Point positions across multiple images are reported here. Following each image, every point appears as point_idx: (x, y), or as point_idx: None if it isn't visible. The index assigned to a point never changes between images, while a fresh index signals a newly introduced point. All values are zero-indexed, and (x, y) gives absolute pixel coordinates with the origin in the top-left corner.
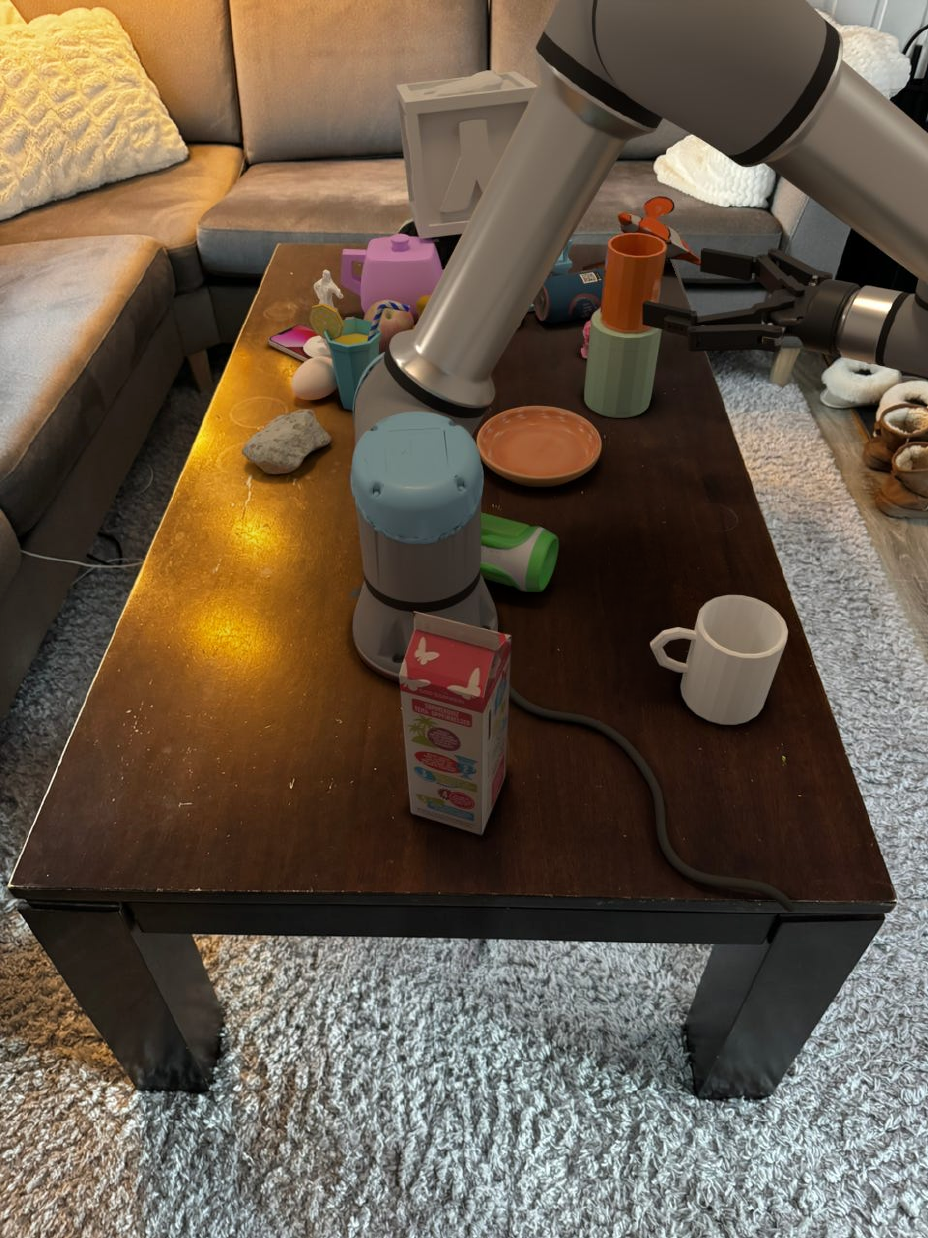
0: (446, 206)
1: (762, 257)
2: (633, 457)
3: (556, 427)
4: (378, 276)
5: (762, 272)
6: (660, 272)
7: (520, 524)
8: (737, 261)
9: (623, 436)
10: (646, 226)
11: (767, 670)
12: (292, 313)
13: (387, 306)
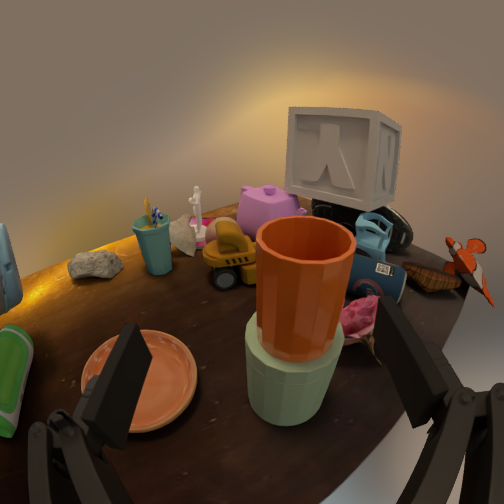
0: (304, 176)
1: (464, 405)
2: (194, 459)
3: (184, 377)
4: (242, 204)
5: (429, 449)
6: (315, 297)
7: None
8: (414, 373)
9: (226, 434)
10: (461, 254)
11: None
12: (229, 213)
13: (153, 210)
